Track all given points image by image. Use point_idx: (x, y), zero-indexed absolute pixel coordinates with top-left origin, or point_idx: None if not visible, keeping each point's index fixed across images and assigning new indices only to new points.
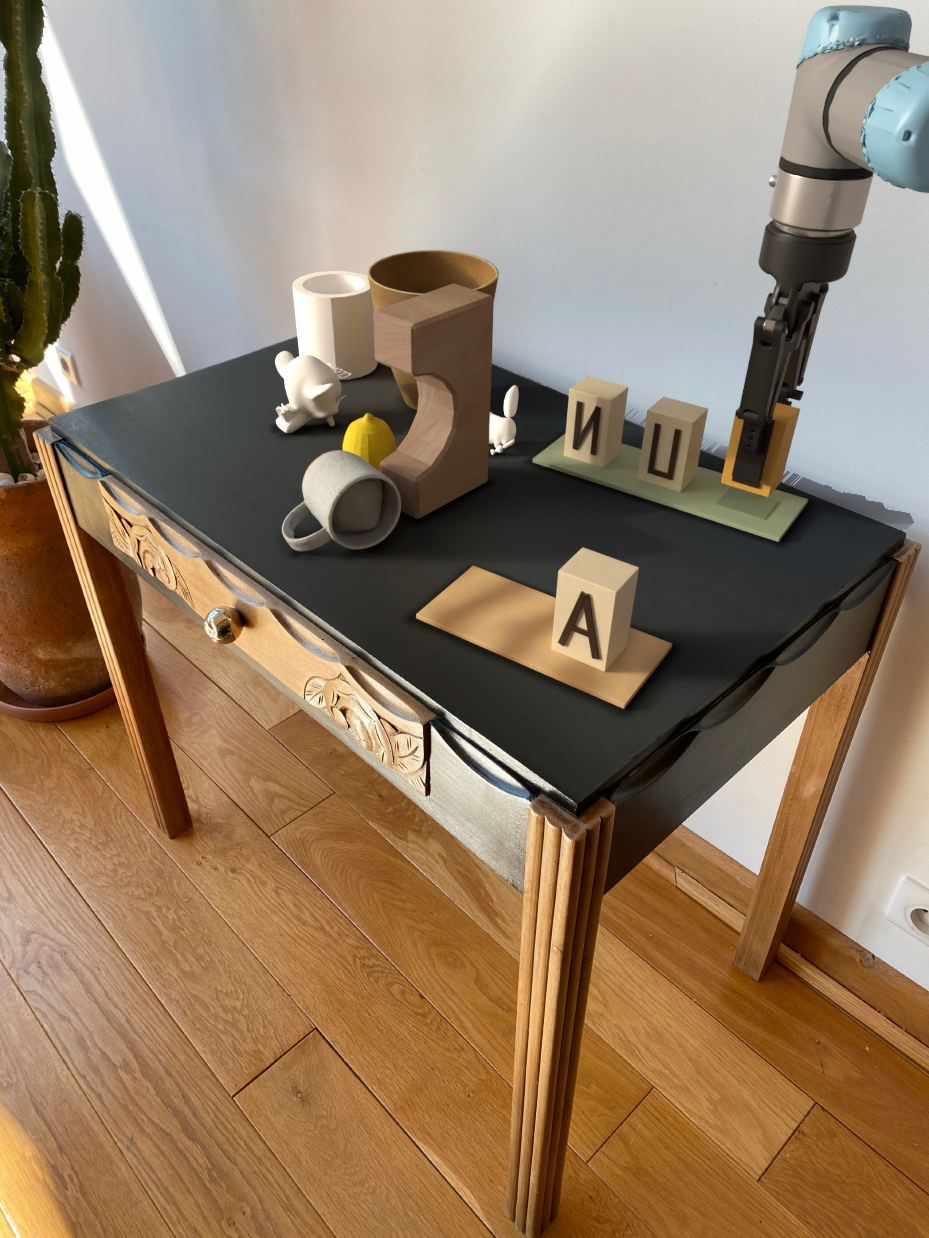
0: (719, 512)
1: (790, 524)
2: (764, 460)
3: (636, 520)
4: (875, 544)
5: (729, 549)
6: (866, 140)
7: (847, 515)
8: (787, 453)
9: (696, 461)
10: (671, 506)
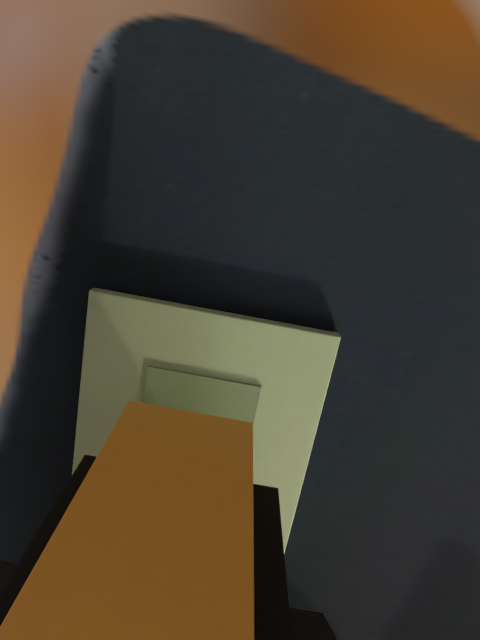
0: None
1: (250, 318)
2: (267, 548)
3: (360, 625)
4: (237, 64)
5: (414, 435)
6: None
7: (102, 167)
8: (117, 466)
9: None
10: None
